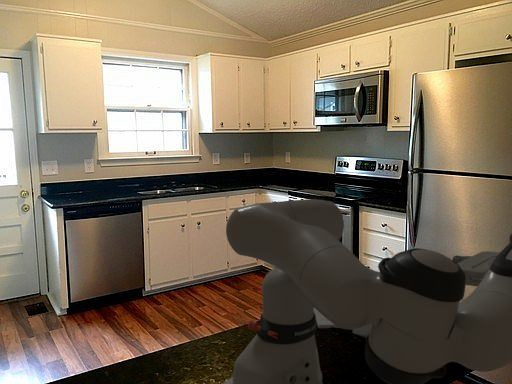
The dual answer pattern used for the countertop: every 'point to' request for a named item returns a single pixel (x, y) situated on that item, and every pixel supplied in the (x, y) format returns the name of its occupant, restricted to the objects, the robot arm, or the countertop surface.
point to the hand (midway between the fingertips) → (447, 261)
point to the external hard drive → (323, 321)
